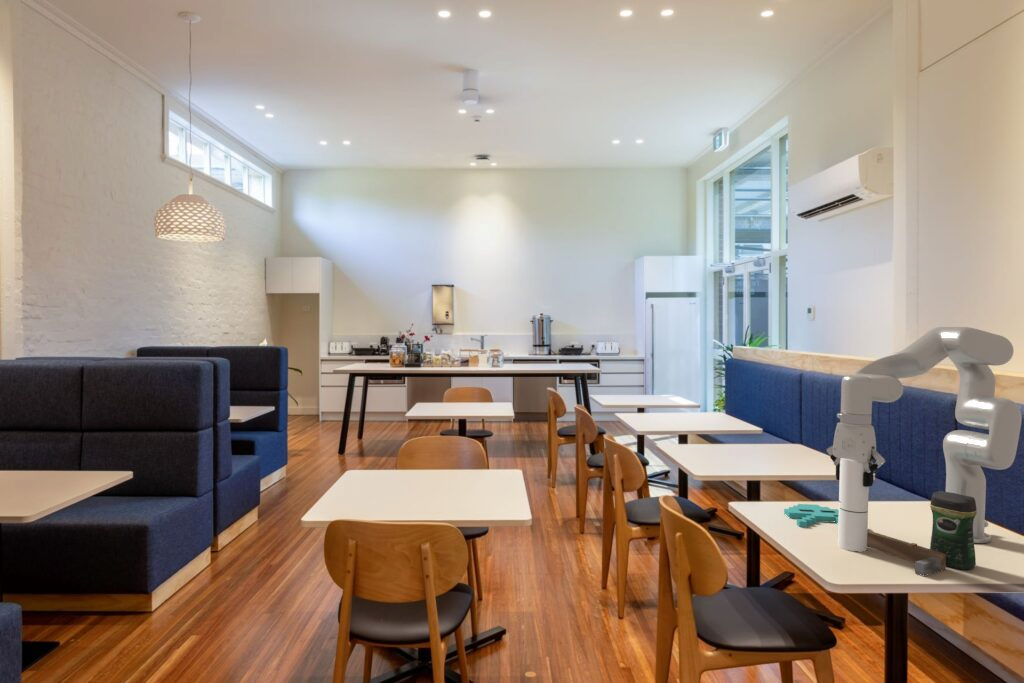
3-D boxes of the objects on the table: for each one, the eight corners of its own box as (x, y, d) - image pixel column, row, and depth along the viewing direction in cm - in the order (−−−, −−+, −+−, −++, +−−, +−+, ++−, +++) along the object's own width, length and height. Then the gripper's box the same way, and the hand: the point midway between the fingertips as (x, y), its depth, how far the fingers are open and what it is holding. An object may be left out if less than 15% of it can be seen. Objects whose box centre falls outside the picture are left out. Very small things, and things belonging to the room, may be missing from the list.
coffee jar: (979, 566, 156) (982, 495, 156) (967, 573, 151) (969, 500, 151) (937, 554, 164) (939, 487, 164) (924, 560, 160) (926, 491, 159)
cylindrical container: (861, 544, 171) (864, 456, 171) (870, 553, 164) (873, 462, 164) (834, 541, 173) (836, 455, 172) (842, 550, 166) (844, 460, 166)
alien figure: (867, 531, 184) (838, 512, 204) (867, 524, 184) (838, 505, 204) (799, 528, 186) (777, 509, 206) (799, 521, 186) (777, 502, 206)
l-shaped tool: (844, 536, 178) (845, 522, 177) (945, 569, 154) (946, 552, 154) (822, 541, 173) (823, 526, 173) (923, 576, 149) (924, 559, 149)
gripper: (818, 416, 174) (816, 477, 174) (879, 425, 159) (877, 491, 159) (834, 414, 177) (833, 474, 178) (895, 423, 162) (893, 488, 162)
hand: (853, 482), depth 168 cm, fingers closed on cylindrical container, 7 cm apart
